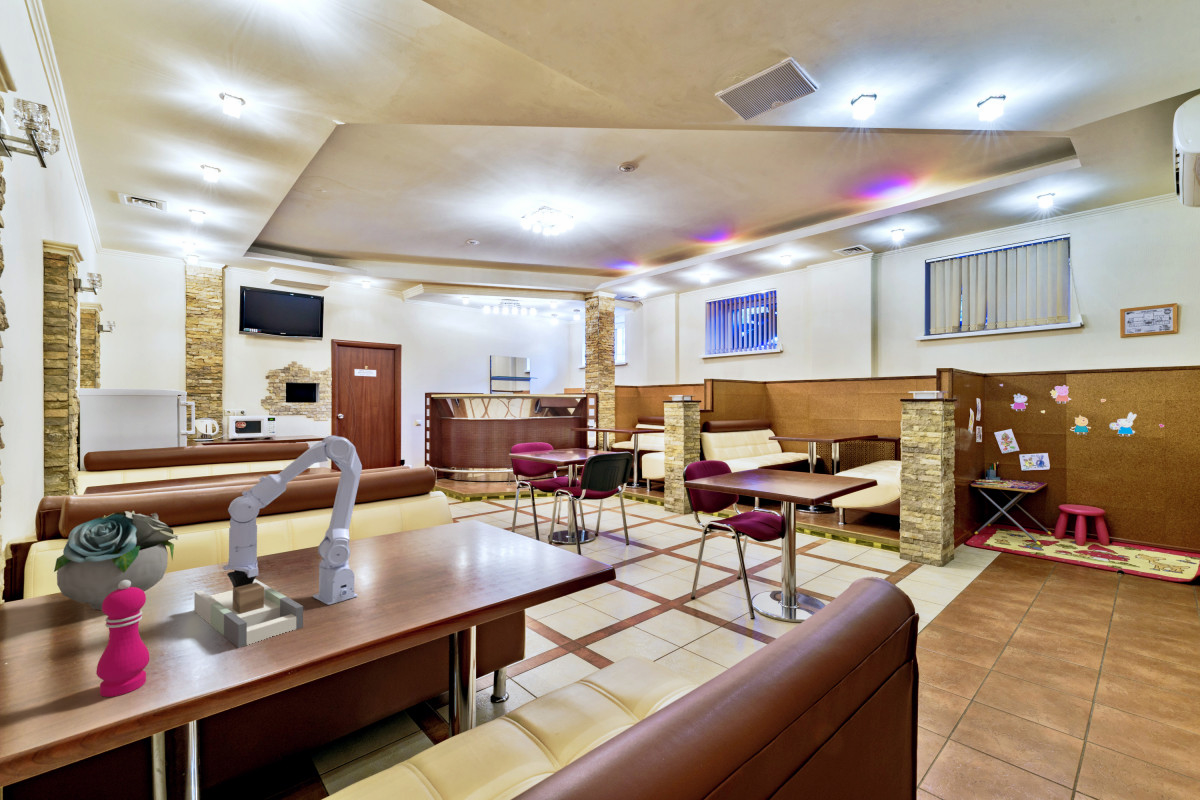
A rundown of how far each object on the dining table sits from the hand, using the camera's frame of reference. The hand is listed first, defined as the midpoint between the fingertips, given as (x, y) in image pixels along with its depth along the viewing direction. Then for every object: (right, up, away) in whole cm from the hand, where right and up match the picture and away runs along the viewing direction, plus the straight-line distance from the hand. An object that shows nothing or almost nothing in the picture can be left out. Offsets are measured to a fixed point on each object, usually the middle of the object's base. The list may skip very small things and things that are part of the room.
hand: (242, 599), depth 126 cm
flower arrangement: (-39, -4, +7) cm, 40 cm away
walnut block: (+3, -1, -3) cm, 4 cm away
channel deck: (+2, -4, -2) cm, 5 cm away
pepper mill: (0, -4, -32) cm, 32 cm away
